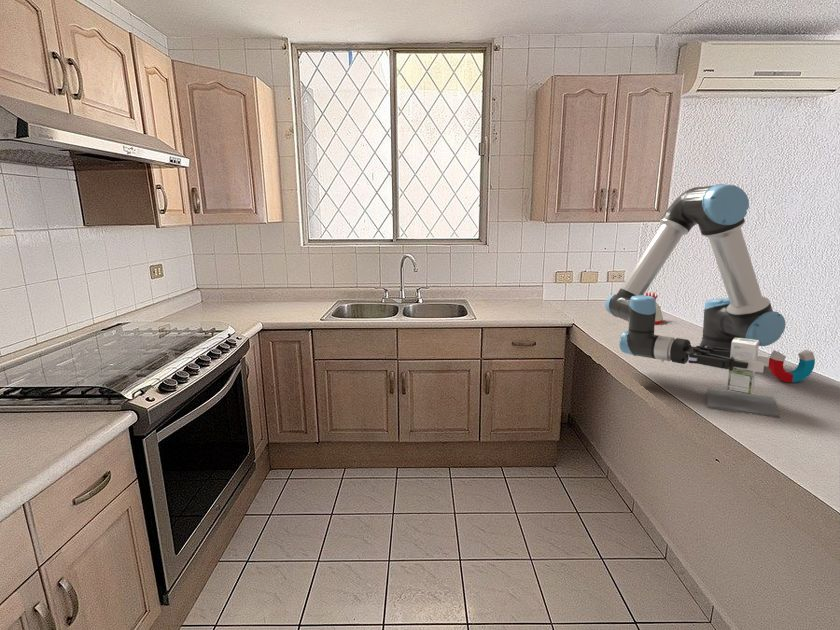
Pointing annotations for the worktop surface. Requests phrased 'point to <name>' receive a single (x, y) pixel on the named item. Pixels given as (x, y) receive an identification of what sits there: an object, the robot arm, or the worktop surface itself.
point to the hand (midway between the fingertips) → (765, 364)
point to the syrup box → (740, 377)
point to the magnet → (797, 374)
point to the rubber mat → (742, 402)
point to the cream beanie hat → (657, 311)
